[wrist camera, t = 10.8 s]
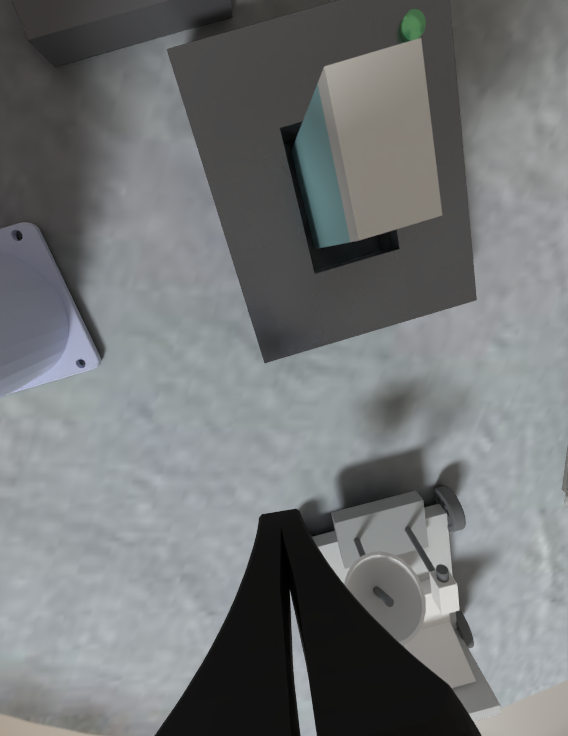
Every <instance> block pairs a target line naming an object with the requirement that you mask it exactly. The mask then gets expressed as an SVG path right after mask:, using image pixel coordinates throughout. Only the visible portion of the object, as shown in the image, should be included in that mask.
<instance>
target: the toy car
mask: <svg viewBox="0 0 568 736" xmlns="http://www.w3.org/2000/svg"><path fill="white" fill-rule="evenodd" d="M434 496H435V499H436V501H435V505H432V506H428V507H424V502H423V499H422V498H421V496H420V495H419V494H418V492H417V491H412V492H408V493H404V494H401V495H397V496H393V497H389V498H385V499H381V500H377V501H374V502H370V503H366V504H362V505H358V506H354V507H350V508H347V509H343V510H339V511H335V512H331V514H332V519H333V523H334V528H335V531H332V532H329V533H325V534H321V535H317V536H313V537H312V538H313V540H314V542H315V544H316V545H317V547H318V548H319V550H320V551H321V553H322V554H323V556H324V558H325V559H326V560H327V562H328V563H329V565H330V566H331V568H332V569H333V570H334V572H335V573H336V574H337V576H338V577H339V578H340V580H341V581H342V582H343V583H344V585H345V586H346V587H347V588H348V590H349V591H350V592H351V593H352V594H353V596H354V597H355V598H356V599H357V600H358V601H359V602H360V604H361V605H362V606H363V607H364V608H365V609H366V610H367V611H368V612H369V613H370V615H371V616H372V617H373V618H374V619H375V620H376V621H377V622H378V623H380V624H381V625H382V626H383V627H384V628H385V629H386V630H387V631H388V632H389V633H390V634H391V635H392V636H393V637H394V638H395V639H396V640H397V641H398V642H399V643H400V644H401V645H402V646H403V647H405V648H406V649H407V650H408V651H409V652H410V653H411V654H412V655H414V656H415V657H416V658H417V659H418V660H419V661H421V662H422V663H423V664H424V665H425V666H427V667H428V668H429V669H430V670H431V671H433V672H434V673H435V674H436V675H438V676H439V677H440V678H441V679H443V680H444V681H445V682H446V683H448V684H449V685H450V687H451V688H452V690H453V691H454V692H455V694H456V695H457V697H458V698H459V700H460V701H461V703H462V704H463V706H464V707H465V709H466V710H467V712H468V713H469V715H470V717H471V718H472V720H473V722H474V721H477V720H481V719H485V718H488V717H492V716H495V715H499V714H501V709H500V704H499V702H498V700H497V698H496V697H495V695H494V693H493V691H492V689H491V688H490V686H489V684H488V682H487V681H486V679H485V677H484V675H483V674H482V672H481V670H480V668H479V667H478V665H477V663H476V661H475V660H474V658H473V656H472V654H471V652H470V651H469V648H472V647H473V646H474V641H473V636H472V633H471V630H470V628H469V625H468V623H467V621H466V619H465V617H464V615H463V613H462V612H461V610H460V609H459V598H458V586H457V582H456V581H455V579H454V578H453V576H452V565H451V553H450V542H449V531H448V530H450V531H452V532H454V531H458V530H462V529H464V528H465V524H466V521H465V515H464V512H463V509H462V506H461V504H460V502H459V500H458V498H457V497H456V495H455V494H454V492H453V491H452V490H451V489H450V488H449V487H447V486H441V487H437V488H434Z"/></svg>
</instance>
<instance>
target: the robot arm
mask: <svg viewBox="0 0 568 736" xmlns="http://www.w3.org/2000/svg"><path fill="white" fill-rule="evenodd" d="M18 231H20V232H21V233H22V236H23V238H22V240H18V238H17V236H16V233H17V232H18ZM80 359H82V360H84V361H85V363H86V365H85V366H82V365H81V364H80V363H79V360H80ZM100 363H101V357H100V355H99V353H98V351H97V349H96V347H95V345H94V342H93V340H92V338H91V336H90V334H89V332H88V330H87V328H86V326H85V324H84V321H83V319H82V317H81V315H80V313H79V311H78V309H77V307H76V305H75V303H74V300H73V298H72V296H71V294H70V292H69V290H68V288H67V286H66V284H65V281H64V279H63V277H62V275H61V273H60V271H59V269H58V267H57V265H56V263H55V260H54V258H53V256H52V254H51V252H50V250H49V248H48V246H47V244H46V242H45V239H44V237H43V235H42V233H41V231H40V229H39V228H38V227H37V226H36V225H35V224H32V223H29V222H21V223H18V224H14V225H11V226H8V227H4V228H1V229H0V398H2V397H4V396H6V395H8V394H10V393H14V392H17V391H21V390H24V389H27V388H31V387H34V386H37V385H41V384H44V383H48V382H51V381H54V380H58V379H61V378H65V377H68V376H71V375H75V374H78V373H81V372H85V371H88V370H92V369H94V368H96V367H98V366H99V365H100ZM290 592H291V597H292V601H293V606H294V610H295V615H296V620H297V624H298V629H299V633H300V638H301V643H302V647H303V652H304V656H305V661H306V666H307V672H308V677H309V684H310V691H311V697H312V704H313V711H314V718H315V725H316V732H317V736H481V734H480V732H479V730H478V728H477V727H476V725H475V724H474V722H473V720H472V718H471V717H470V715H469V713H468V712H467V710H466V709H465V707H464V706H463V704H462V703H461V701H460V700H459V698H458V697H457V695H456V694H455V692H454V691H453V690H452V688H451V687H450V685H449V684H448V683H446V682H445V681H444V680H443V679H441V678H440V677H439V676H438V675H436V674H435V673H434V672H433V671H431V670H430V669H429V668H428V667H427V666H425V665H424V664H423V663H422V662H421V661H419V660H418V659H417V658H416V657H415V656H414V655H412V654H411V653H410V652H409V651H408V650H407V649H406V648H405V647H403V646H402V645H401V644H400V643H399V642H398V641H397V640H396V639H395V638H394V637H393V636H392V635H391V634H390V633H389V632H388V631H387V630H386V629H385V628H384V627H383V626H382V625H381V624H380V623H378V622H377V621H376V620H375V619H374V618H373V617H372V616H371V615H370V613H369V612H368V611H367V610H366V609H365V608H364V607H363V606H362V605H361V604H360V602H359V601H358V600H357V599H356V598H355V597H354V596H353V594H352V593H351V592H350V591H349V590H348V588H347V587H346V586H345V585H344V583H343V582H342V581H341V580H340V578H339V577H338V576H337V574H336V573H335V572H334V570H333V569H332V568H331V566H330V565H329V563H328V562H327V560H326V559H325V558H324V556H323V554H322V553H321V551H320V550H319V548H318V547H317V545H316V544H315V542H314V540H313V538H312V537H311V535H310V533H309V531H308V529H307V527H306V525H305V523H304V521H303V519H302V517H301V514H300V511H299V510H297V509H292V510H286V511H280V512H273V513H267V514H262V515H261V516H260V517H259V524H258V529H257V534H256V538H255V542H254V546H253V549H252V553H251V556H250V559H249V562H248V565H247V568H246V571H245V574H244V577H243V579H242V582H241V584H240V587H239V590H238V592H237V595H236V597H235V599H234V602H233V604H232V606H231V608H230V611H229V613H228V615H227V617H226V619H225V621H224V623H223V625H222V627H221V629H220V631H219V633H218V635H217V637H216V639H215V641H214V643H213V645H212V647H211V648H210V650H209V652H208V654H207V656H206V657H205V659H204V661H203V663H202V664H201V666H200V667H199V669H198V671H197V672H196V674H195V676H194V677H193V679H192V681H191V682H190V684H189V685H188V687H187V689H186V690H185V692H184V694H183V695H182V697H181V698H180V700H179V701H178V703H177V704H176V706H175V707H174V709H173V710H172V711H171V713H170V714H169V716H168V717H167V719H166V720H165V722H164V723H163V724H162V726H161V727H160V729H159V730H158V732H157V733H156V734H155V736H300V728H299V719H298V711H297V702H296V693H295V684H294V672H293V655H292V631H291V608H290Z"/></svg>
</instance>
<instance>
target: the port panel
mask: <svg viewBox="0 0 568 736" xmlns="http://www.w3.org/2000/svg"><path fill="white" fill-rule="evenodd" d="M419 38H421V41H422V50H423V58H424V66H425V75H426V83H427V91H428V100H429V108H430V116H431V125H432V133H433V141H434V149H435V158H436V166H437V174H438V183H439V191H440V199H441V208H442V216H439V217H436V218H432V219H429V220H426V221H422V222H419V223H416V224H412V225H409V226H406V227H402V228H399V229H396V230H392V231H389V232H386V233H383V234H379V240H380V246H381V251H378V252H375V253H371V254H368V255H364V256H361V257H358V258H354V259H351V260H347V261H344V262H341V263H337V264H334V265H330V266H327V267H324V268H320V269H317V270H314V269H313V265H312V261H311V256H310V252H309V248H308V244H307V240H306V236H305V231H304V227H303V223H302V219H301V215H300V210H299V206H298V202H297V198H296V194H295V190H294V185H293V181H292V177H291V173H290V169H289V164H288V160H287V156H286V152H285V148H284V144H285V143H288V142H292V141H295V140H296V137H297V135H298V132H299V130H300V127H301V125H302V122H303V120H304V117H305V114H306V112H307V109H308V107H309V104H310V102H311V99H312V96H313V94H314V91H315V89H316V86H317V84H318V81H319V79H320V76H321V73H322V71H323V68H324V66H327V65H331V64H334V63H337V62H341V61H344V60H348V59H351V58H354V57H358V56H361V55H365V54H368V53H371V52H375V51H378V50H381V49H385V48H388V47H392V46H395V45H398V44H402V43H405V42H409V41H412V40H415V39H419ZM167 52H168V55H169V58H170V61H171V64H172V68H173V71H174V74H175V77H176V80H177V84H178V87H179V90H180V93H181V96H182V100H183V103H184V106H185V109H186V112H187V116H188V119H189V122H190V125H191V129H192V132H193V135H194V138H195V141H196V145H197V148H198V151H199V154H200V157H201V161H202V164H203V167H204V170H205V173H206V177H207V180H208V183H209V186H210V189H211V193H212V196H213V199H214V202H215V205H216V209H217V212H218V215H219V218H220V222H221V225H222V228H223V231H224V234H225V238H226V241H227V244H228V247H229V250H230V254H231V257H232V260H233V263H234V266H235V270H236V273H237V276H238V279H239V282H240V286H241V289H242V292H243V295H244V298H245V302H246V305H247V308H248V311H249V315H250V318H251V321H252V324H253V327H254V331H255V334H256V337H257V340H258V343H259V347H260V350H261V353H262V356H263V359H264V363H267V362H270V361H274V360H277V359H280V358H284V357H287V356H290V355H294V354H297V353H301V352H304V351H307V350H311V349H314V348H317V347H321V346H324V345H327V344H331V343H334V342H338V341H341V340H344V339H348V338H351V337H354V336H358V335H361V334H364V333H368V332H371V331H374V330H378V329H381V328H385V327H388V326H391V325H395V324H398V323H401V322H405V321H408V320H411V319H415V318H418V317H422V316H425V315H428V314H432V313H435V312H438V311H442V310H445V309H448V308H452V307H455V306H458V305H462V304H465V303H469V302H472V301H475V300H477V298H476V287H475V276H474V265H473V254H472V243H471V231H470V220H469V209H468V198H467V187H466V176H465V165H464V154H463V143H462V132H461V121H460V110H459V99H458V88H457V77H456V66H455V55H454V44H453V32H452V21H451V10H450V0H338V1H334V2H331V3H327V4H324V5H320V6H317V7H313V8H310V9H306V10H302V11H299V12H295V13H292V14H288V15H285V16H281V17H278V18H274V19H271V20H267V21H264V22H260V23H257V24H253V25H250V26H246V27H243V28H239V29H236V30H232V31H229V32H225V33H222V34H218V35H215V36H211V37H208V38H204V39H201V40H197V41H194V42H190V43H187V44H183V45H180V46H176V47H173V48H169V49H167Z"/></svg>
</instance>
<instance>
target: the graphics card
mask: <svg viewBox="0 0 568 736" xmlns="http://www.w3.org/2000/svg"><path fill="white" fill-rule="evenodd" d="M567 487H568V448H567V455H566V463H565V470H564V478H563V486H562V490H563V491H564V492H565V493H566V495H565V501H564V506H566V507H567V504H568V489H567Z"/></svg>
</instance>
